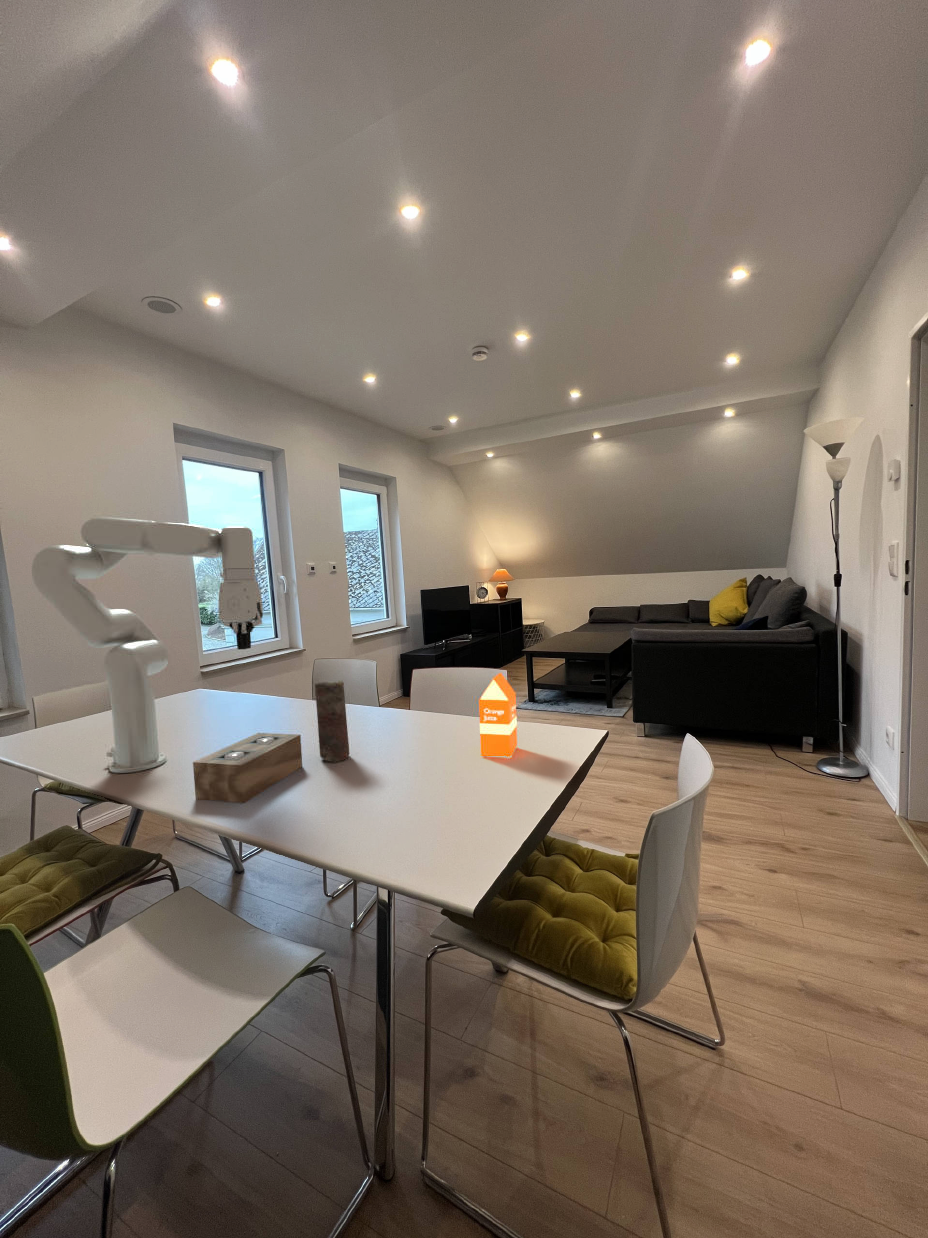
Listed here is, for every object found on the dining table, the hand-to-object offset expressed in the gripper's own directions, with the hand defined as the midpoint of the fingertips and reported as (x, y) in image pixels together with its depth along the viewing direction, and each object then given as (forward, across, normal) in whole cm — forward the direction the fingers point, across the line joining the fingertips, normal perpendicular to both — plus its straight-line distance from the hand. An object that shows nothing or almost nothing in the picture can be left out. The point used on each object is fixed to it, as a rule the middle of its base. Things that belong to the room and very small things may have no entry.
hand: (244, 648), depth 136 cm
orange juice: (+29, +62, +16) cm, 70 cm away
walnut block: (+29, +10, -13) cm, 33 cm away
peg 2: (+29, +10, -8) cm, 32 cm away
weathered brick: (+29, +21, +5) cm, 36 cm away
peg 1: (+29, +10, -18) cm, 36 cm away
